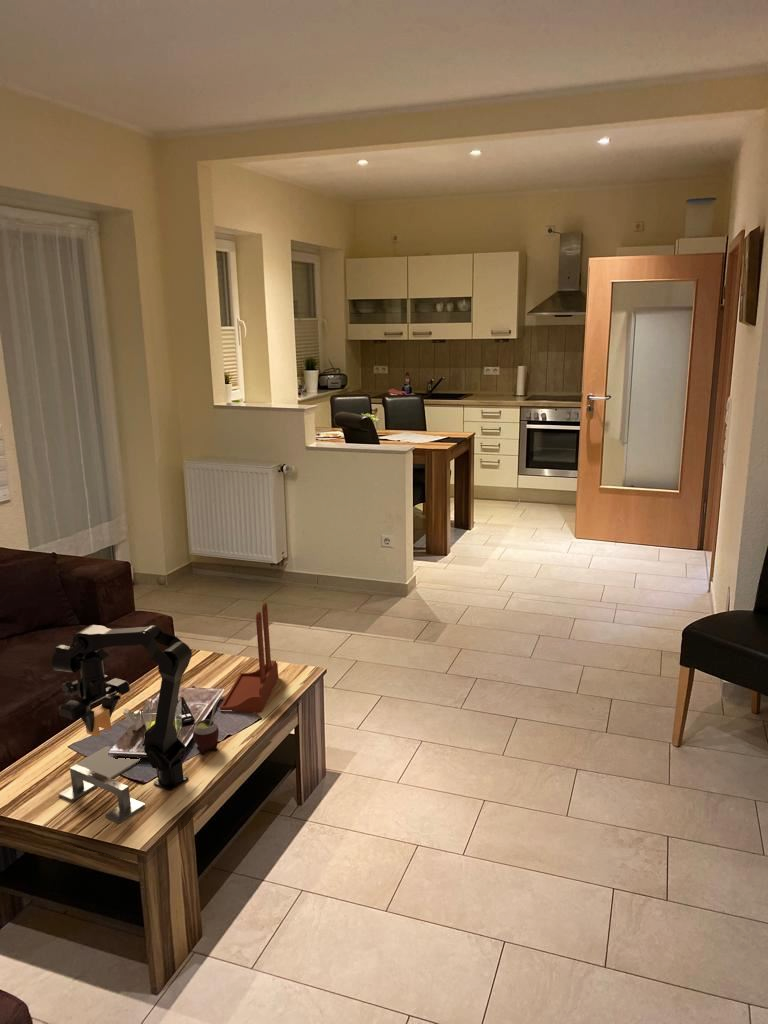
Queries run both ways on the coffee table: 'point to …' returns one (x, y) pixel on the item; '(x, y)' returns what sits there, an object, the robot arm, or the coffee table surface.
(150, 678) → the coffee table surface
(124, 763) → the slate mat
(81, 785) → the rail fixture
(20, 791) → the coffee table surface
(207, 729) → the mate gourd
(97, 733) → the orange link
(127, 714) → the grey flat heart piece
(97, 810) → the coffee table surface
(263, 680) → the hanging shelf
